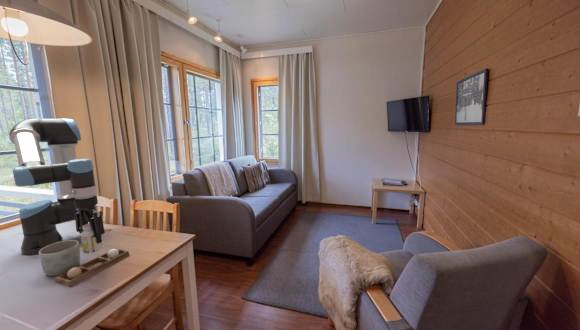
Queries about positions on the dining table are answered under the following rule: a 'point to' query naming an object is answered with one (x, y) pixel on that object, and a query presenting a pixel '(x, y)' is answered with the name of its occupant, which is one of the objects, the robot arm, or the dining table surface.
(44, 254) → the planter
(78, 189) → the robot arm
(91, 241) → the pill bottle
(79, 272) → the brown egg ball
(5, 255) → the dining table surface
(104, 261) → the caddy
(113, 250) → the white egg ball
